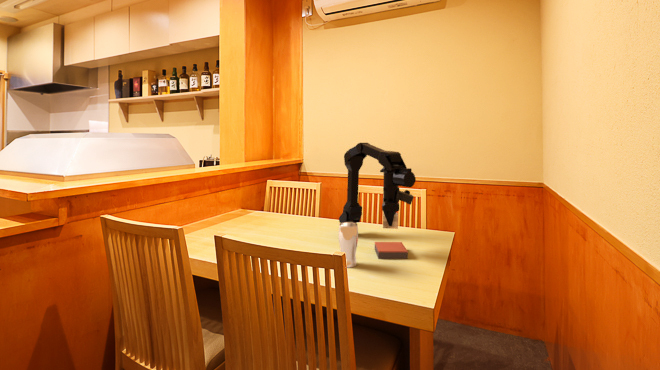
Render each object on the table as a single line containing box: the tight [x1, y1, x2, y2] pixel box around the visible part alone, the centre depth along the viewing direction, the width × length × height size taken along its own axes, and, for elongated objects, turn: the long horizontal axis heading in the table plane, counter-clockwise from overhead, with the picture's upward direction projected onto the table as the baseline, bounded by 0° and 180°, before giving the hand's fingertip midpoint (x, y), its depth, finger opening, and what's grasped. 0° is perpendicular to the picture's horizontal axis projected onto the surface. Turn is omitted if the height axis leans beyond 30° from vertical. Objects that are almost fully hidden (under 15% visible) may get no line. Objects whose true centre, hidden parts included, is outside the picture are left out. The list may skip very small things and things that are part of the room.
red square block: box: [374, 241, 409, 260], centre depth 130 cm, size 11×11×4 cm
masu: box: [382, 212, 399, 230], centre depth 129 cm, size 6×6×5 cm
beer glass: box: [338, 222, 359, 268], centre depth 118 cm, size 7×7×15 cm
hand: (390, 224), depth 129 cm, fingers closed on masu, 6 cm apart
